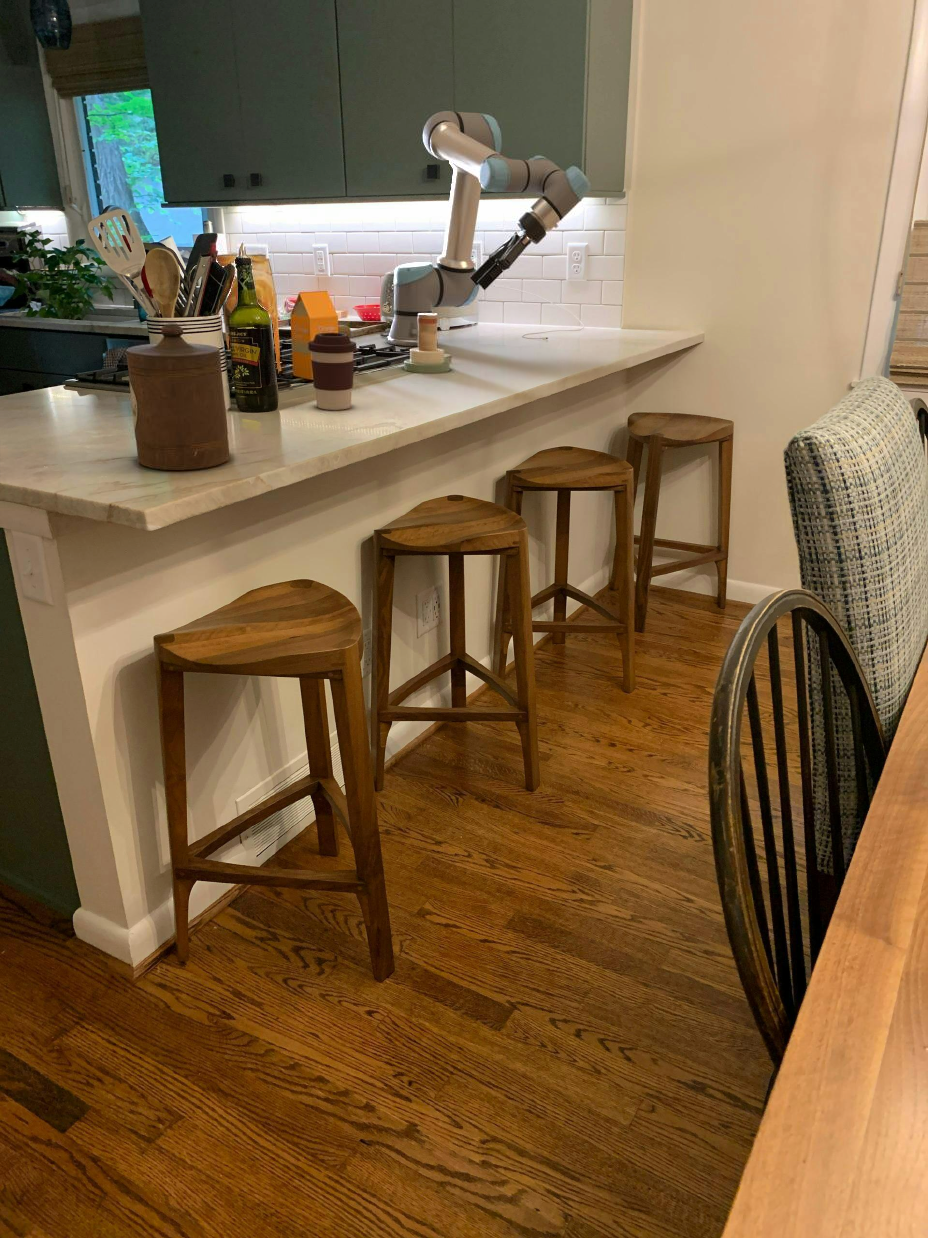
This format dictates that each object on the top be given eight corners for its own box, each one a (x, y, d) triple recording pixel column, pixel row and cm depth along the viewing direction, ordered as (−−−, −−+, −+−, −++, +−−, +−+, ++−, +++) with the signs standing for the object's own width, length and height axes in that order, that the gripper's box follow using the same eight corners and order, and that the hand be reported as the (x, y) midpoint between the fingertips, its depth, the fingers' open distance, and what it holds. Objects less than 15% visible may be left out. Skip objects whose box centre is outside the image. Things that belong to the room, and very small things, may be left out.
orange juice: (339, 376, 234) (337, 291, 226) (312, 379, 228) (309, 293, 220) (320, 371, 239) (317, 289, 230) (292, 375, 233) (288, 290, 224)
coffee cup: (319, 413, 194) (317, 338, 187) (304, 404, 201) (301, 332, 195) (364, 410, 198) (363, 336, 192) (347, 401, 206) (345, 330, 200)
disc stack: (395, 367, 247) (395, 348, 245) (428, 363, 255) (428, 345, 253) (425, 374, 239) (425, 354, 237) (458, 370, 247) (459, 350, 245)
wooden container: (170, 445, 166) (157, 316, 157) (245, 453, 162) (236, 321, 153) (119, 465, 153) (102, 325, 144) (199, 475, 149) (187, 332, 140)
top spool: (413, 349, 245) (413, 313, 241) (428, 347, 248) (428, 312, 245) (426, 351, 242) (426, 315, 238) (441, 350, 245) (441, 314, 241)
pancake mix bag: (212, 377, 227) (203, 253, 216) (273, 368, 241) (267, 252, 229) (230, 380, 223) (221, 255, 212) (291, 371, 237) (285, 253, 225)
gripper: (558, 235, 226) (494, 299, 230) (537, 231, 248) (479, 290, 252) (537, 210, 223) (473, 276, 227) (518, 209, 245) (460, 269, 250)
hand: (476, 283), depth 240 cm, fingers open, 13 cm apart
